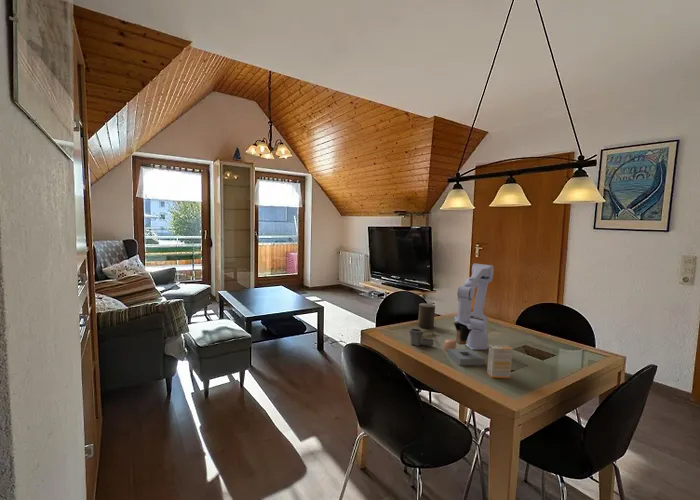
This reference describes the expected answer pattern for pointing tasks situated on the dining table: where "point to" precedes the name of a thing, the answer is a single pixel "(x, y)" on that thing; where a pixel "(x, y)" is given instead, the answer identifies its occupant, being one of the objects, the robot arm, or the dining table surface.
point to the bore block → (465, 357)
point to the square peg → (459, 338)
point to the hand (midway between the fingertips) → (461, 339)
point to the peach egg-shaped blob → (449, 344)
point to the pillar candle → (426, 315)
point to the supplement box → (499, 361)
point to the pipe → (419, 338)
